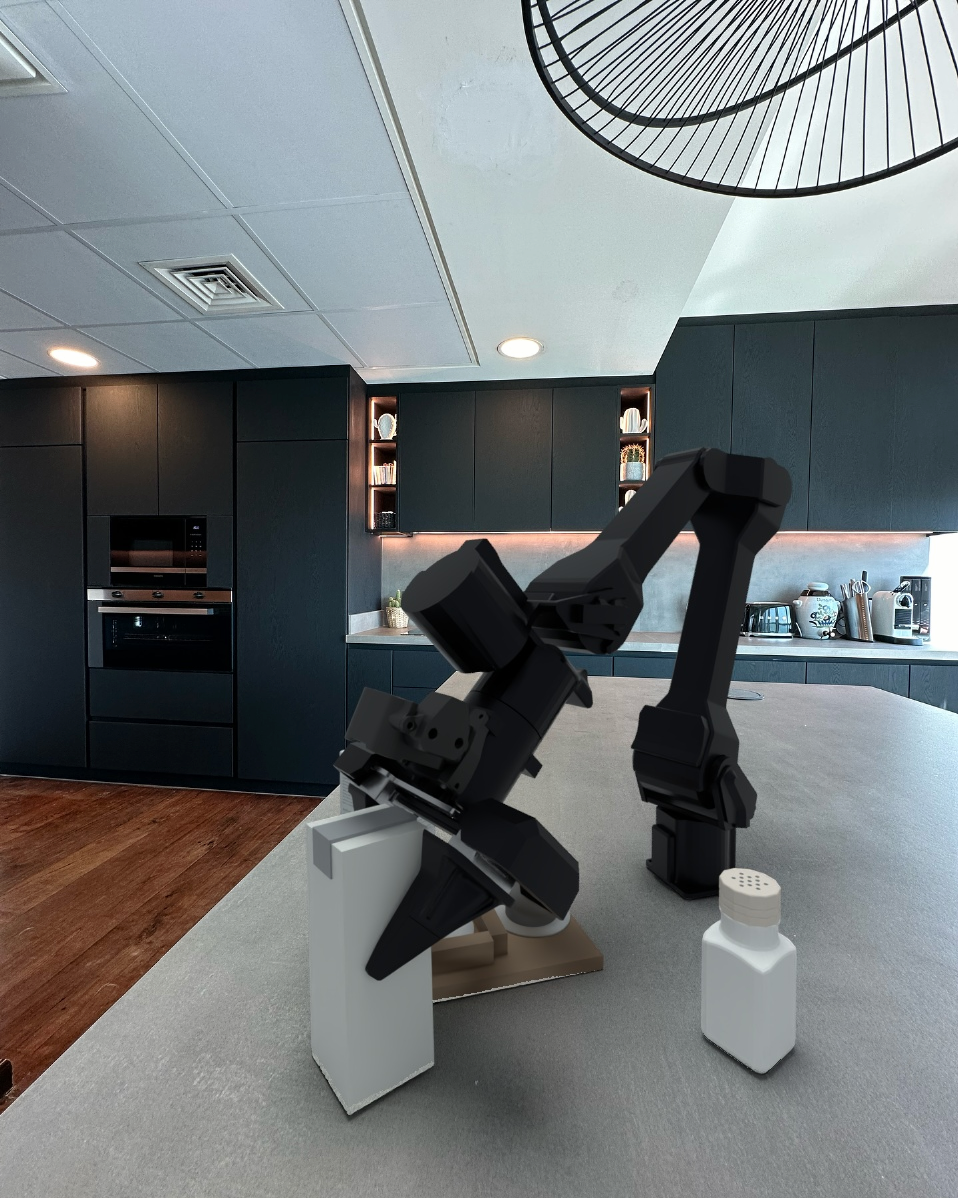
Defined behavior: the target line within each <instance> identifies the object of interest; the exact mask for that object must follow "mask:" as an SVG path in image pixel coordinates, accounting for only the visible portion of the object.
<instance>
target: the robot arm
mask: <svg viewBox="0 0 958 1198" xmlns="http://www.w3.org/2000/svg"><path fill="white" fill-rule="evenodd" d="M792 488H793V485H792V478H791V475H790V473H789V471H788V469H787V468H785V467H784V466H782V465H780V464H778V462H777V461H776V460H775V459H773V457H770V456H769V457H760V456H754V455H753V456H752V455H744V454H735V453H728V452H726V451H723V450H721V449H719V448H713V447H709V446H700V447H696V448H695V447H694V448H691V449H686V450H681V451H680V450H679V451H677V452H672V453H667V454H665V455H664V456H662V457H661V458H660V459H658V460H657V461H656V464H655V465H654V469H653V472H652V473H651V474H650V476H648V478H647V479H646V480H645V481H644V483H642V484H641V486H640V487H639V488H638V489H637V490H636V491H635V493H634V494H633V495H632V496H631V497H630V498H629V500H628V501H627V502H626V503H625V504H624V505H623V507H622V508H621V509H620V510H619V511H618V512H617V514H616V515H615V516H613V518H612V519H611V520H610V522H609V523H608V524H606V526H605V527H604V528H603V530H601V532H600V533H599V535H597V537H596V538H594V540H593V541H592V542H591V543H588V545H586V546H585V547H583V548H582V549H579V550H578V551H576V552H573V553H571V554H569V555H567V556H565V557H563V558H561V559H558V560H557V561H555V562H554V563H553V564H552V565H550V566H549V567H548V568H546V569H545V570H544V571H543V572H541V573H540V574H538V575H537V576H535V578H533V579H532V580H531V581H530V582H529V584H528V585H527V587H526V588H525V589H524V590H522V588H521V587H520V585H519V583H517V582H516V580H515V579H514V577H513V576H512V574H511V573H510V572H509V571H508V569H507V567H505V565H504V564H503V562H502V559H501V558H500V555H499V554H498V552H497V549H496V548H495V547H494V546H493V544H492V543H491V541H490V540H489V539H488V538H485V537H484V538H475V539H473V538H472V539H466V540H465V541H464V542H463V543H462V544H461V546H460V547H459V548H458V549H457V550H455V551H453V552H450V553H449V554H447V555H445V556H443V557H441V558H440V559H438V560H437V561H435V562H434V563H433V564H432V565H430V566H429V567H428V568H426V570H420V571H419V572H418V573H416V575H415V576H414V577H413V578H412V580H411V581H410V582H409V583H408V585H407V586H406V587H405V589H404V591H403V593H402V595H401V598H400V605H399V606H400V609H401V610H402V611H403V613H404V614H406V616H407V617H408V619H410V620H411V621H412V622H413V624H414V625H415V626H416V627H417V628H418V629H419V630H420V632H422V634H423V635H424V636H425V638H427V639H428V640H429V642H430V643H431V644H432V645H433V646H434V647H435V648H436V650H437V651H438V652H439V653H440V654H441V655H442V656H443V657H444V659H446V660H447V662H448V663H449V664H450V665H451V666H452V668H454V670H456V671H457V672H459V673H461V674H465V675H468V674H469V675H470V674H476V673H479V672H480V673H482V674H481V675H480V677H479V678H477V679H478V680H476V682H475V684H474V685H472V688H471V689H470V691H469V692H468V693H467V694H466V696H465V697H464V699H463V700H462V699H459V698H457V697H454V696H453V695H449V694H445V693H442V692H437V691H431V692H429V693H428V695H426V697H425V698H424V699H423V700H422V701H420V702H419V704H418V703H417V702H415V701H412V700H408V699H405V698H402V697H400V696H398V695H394V694H390V693H388V692H385V691H380V690H378V689H374V688H371V687H368V686H364V688H363V690H362V693H361V695H360V697H359V700H358V702H357V705H356V708H355V709H354V712H353V715H352V717H351V720H350V722H349V725H348V727H347V730H346V733H345V735H344V739H345V740H347V741H350V743H349V744H348V745H347V747H345V749H343V750H344V751H343V753H342V754H341V755H340V754H339V756H338V758H337V759H336V760H335V761H334V763H333V764H332V765H333V767H334V768H335V769H336V770H337V771H338V772H339V773H340V772H341V773H342V774H343V775H344V776H346V777H347V778H348V779H349V780H350V781H352V782H353V783H354V784H355V785H356V786H357V787H356V786H354V785H353V784H351V783H349V785H348V793H349V794H350V795H351V796H352V801H353V809H354V811H358V810H362V809H366V808H370V807H374V806H377V805H381V804H387V805H389V806H390V807H392V806H396V805H397V806H399V807H401V808H402V809H404V810H406V811H408V812H410V813H412V814H414V815H416V816H417V818H418V817H421V818H422V819H424V820H426V821H427V822H429V823H431V824H432V825H434V826H435V828H438V829H440V830H441V831H442V832H444V833H447V835H449V836H451V837H450V838H449V840H448V842H447V841H445V840H443V839H442V838H441V837H439V836H437V835H436V834H435V835H434V834H432V833H431V832H429V831H428V830H426V829H424V830H423V837H422V855H421V867H420V870H419V872H418V875H417V876H416V878H415V879H414V881H413V883H412V884H411V886H410V888H409V889H408V891H407V893H406V895H405V896H404V898H403V900H402V901H401V903H400V905H399V906H398V908H397V910H396V911H395V913H394V915H393V916H392V918H391V920H390V922H389V923H388V925H387V927H386V928H385V930H384V932H383V933H382V935H381V937H380V938H379V940H378V942H377V944H376V946H375V948H374V950H373V952H372V954H371V956H370V958H369V960H368V962H367V964H366V967H365V971H366V973H367V974H368V975H369V976H371V977H372V978H374V979H375V980H377V981H381V980H383V979H385V978H386V977H387V976H389V975H390V974H392V973H393V972H395V971H396V970H398V969H399V968H401V967H402V966H403V965H405V964H406V963H408V962H409V961H411V960H412V959H414V958H415V957H417V956H418V955H419V954H421V953H422V952H424V951H425V950H427V949H428V948H430V947H431V946H433V945H434V944H435V943H437V942H438V941H440V940H441V939H443V938H444V937H446V936H447V935H449V934H450V933H452V932H454V931H455V930H457V929H459V928H460V927H462V926H464V925H466V924H467V923H469V922H471V921H473V920H474V919H476V918H478V917H480V916H482V915H483V914H485V913H487V912H489V911H490V910H492V909H494V908H496V907H498V906H500V905H504V906H506V907H507V908H509V909H511V908H512V907H513V906H514V904H515V903H516V900H515V899H514V898H513V897H511V896H510V895H509V893H510V891H511V890H512V888H513V886H514V884H515V883H516V882H518V883H519V884H520V894H521V895H523V896H524V897H525V898H526V899H527V900H529V901H531V902H532V903H534V904H535V905H537V906H538V907H540V908H542V909H543V910H545V911H546V912H548V913H550V914H551V915H553V916H554V917H556V918H557V919H559V920H561V921H563V920H564V919H565V917H566V915H567V913H568V911H570V909H571V908H572V905H573V903H574V902H575V899H576V897H577V896H578V894H579V892H580V866H579V863H580V862H579V861H578V860H577V859H576V858H575V857H574V856H573V855H572V854H571V853H570V852H569V850H567V848H566V847H564V845H562V843H561V842H559V840H557V838H556V837H554V835H553V834H552V833H550V831H549V830H548V829H547V828H546V826H544V825H543V824H542V823H541V822H540V821H539V820H538V819H537V818H536V817H534V816H532V815H530V814H529V813H526V812H524V811H521V810H519V809H517V808H515V807H513V806H511V805H508V804H506V803H505V801H506V799H507V798H508V796H509V795H510V793H511V792H512V790H513V788H514V787H515V785H516V783H517V782H518V780H519V779H520V777H521V776H522V775H524V776H527V777H529V778H532V779H534V780H535V779H536V777H537V776H538V775H539V773H540V772H541V770H542V768H543V766H544V765H543V764H542V763H541V761H539V759H538V758H537V757H536V756H535V753H536V751H537V750H538V748H539V747H540V745H541V743H542V742H543V740H544V738H545V737H546V736H547V734H548V732H549V730H550V729H551V727H552V726H553V724H554V723H555V721H556V719H557V717H558V716H559V714H561V711H563V709H564V707H565V705H570V706H575V707H578V708H584V709H587V710H588V709H591V708H592V707H593V705H594V698H593V692H592V691H593V690H592V688H591V687H590V684H589V678H588V677H589V671H588V670H587V669H586V668H581V667H574V665H573V664H572V663H571V661H570V660H569V658H568V657H567V656H566V655H565V653H564V652H563V651H566V652H574V653H580V654H582V653H583V654H590V655H598V656H599V655H600V656H602V655H603V656H604V655H613V654H614V653H616V652H617V651H618V650H619V649H621V647H622V646H623V645H624V644H625V642H626V641H627V639H628V637H629V635H630V633H631V631H632V630H633V627H634V626H635V624H636V622H637V621H638V618H639V616H640V614H641V612H642V611H643V608H644V605H645V603H644V601H645V600H644V593H643V592H644V591H643V590H644V589H643V584H644V583H645V581H646V579H647V577H648V575H649V574H650V573H651V572H652V570H653V568H654V567H655V566H656V564H657V563H658V562H659V561H660V559H661V558H662V557H663V555H664V554H665V553H666V551H667V550H668V549H669V548H670V546H671V545H672V544H673V542H674V541H675V540H676V539H677V537H678V536H679V534H680V533H681V532H682V531H683V529H684V528H685V527H686V525H687V524H688V523H689V524H690V526H691V528H692V530H693V533H694V535H695V538H696V539H697V542H698V544H699V545H698V546H699V547H698V552H697V555H696V556H697V557H696V561H695V567H694V572H693V576H692V580H691V584H690V585H691V586H690V590H689V595H688V601H687V604H686V609H685V613H684V619H683V621H682V622H683V623H682V628H681V632H680V637H679V642H678V646H677V651H676V656H675V660H674V665H673V670H672V675H671V680H670V684H669V689H668V691H667V693H666V694H665V695H664V696H663V697H662V698H661V699H660V700H659V702H657V704H656V705H655V706H654V705H648V704H645V705H643V706H642V708H641V710H640V711H639V714H638V723H637V729H636V733H635V736H634V739H633V741H632V743H631V745H630V749H631V750H632V755H631V756H632V757H631V758H632V759H631V760H632V764H631V765H632V770H633V772H634V775H635V779H636V784H637V789H638V791H639V796H640V799H641V801H642V802H644V803H646V804H648V803H649V804H652V805H655V823H654V824H652V826H651V857H650V858H647V859H645V866H646V867H647V868H648V869H649V870H650V871H651V872H653V873H654V874H655V875H656V876H658V877H659V878H660V879H661V880H662V881H664V882H665V883H666V884H667V885H668V886H669V887H670V888H672V889H673V890H674V891H675V892H676V893H678V894H679V895H680V896H681V897H682V898H684V899H687V900H692V899H698V898H705V897H710V896H716V895H719V890H720V889H719V876H720V875H721V874H722V872H723V871H724V870H728V869H733V868H737V865H736V863H737V829H748V828H750V827H751V820H752V819H754V816H755V812H756V809H757V801H758V793H757V791H756V790H755V787H754V786H753V785H752V784H751V782H750V780H749V779H748V777H747V776H746V773H744V771H743V769H742V768H741V766H740V765H739V763H738V762H739V752H740V740H739V736H738V735H737V731H736V729H735V727H734V724H733V722H732V719H731V717H730V714H729V712H728V709H727V702H728V698H729V694H730V693H729V691H730V686H731V681H732V678H733V677H732V676H733V672H734V666H735V661H736V657H737V656H736V655H737V650H738V646H739V641H740V635H741V629H742V626H743V621H744V614H745V609H746V605H747V598H748V595H749V590H750V583H751V578H752V575H753V574H752V573H753V567H754V562H755V559H756V556H757V554H758V553H759V552H760V551H762V549H763V548H764V547H765V546H766V545H767V544H768V543H769V542H770V541H771V540H772V539H773V538H774V536H775V535H776V534H777V533H778V532H779V530H780V528H781V526H782V525H781V524H782V522H783V517H784V514H785V511H786V507H787V505H788V504H789V503H790V500H791V497H792V492H793V489H792Z"/></svg>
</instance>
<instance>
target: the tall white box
mask: <svg viewBox="0 0 958 1198" xmlns="http://www.w3.org/2000/svg"><path fill="white" fill-rule="evenodd" d="M424 829H426V830H428V827H427V826H425V825H423V824H422V823H420V822H418V821H417V816H416V815H414V814H412V813H410V812H408V811H406V810H404V809H402V808H401V807H399V806H397V805H396V806H392V807H390V806H389V805H387V804H381V805H377V806H374V807H370V808H366V809H362V810H358V811H354V812H350V813H346V814H342V815H340V814H339V815H335V816H331V817H327V818H323V819H319V820H314V821H311V822H307V823H305V843H306V846H305V848H306V852H305V853H306V883H307V885H306V888H307V891H306V892H307V893H306V894H307V921H308V922H307V927H308V928H307V929H308V962H309V963H308V965H309V967H308V969H309V1005H310V1006H309V1007H310V1008H309V1009H310V1011H309V1012H310V1043H311V1044H310V1047H311V1048H312V1049H313V1051H314V1053H315V1054H316V1055H317V1057H318V1059H319V1060H320V1061H321V1063H322V1064H323V1066H324V1067H325V1069H326V1071H327V1072H328V1074H329V1075H330V1077H331V1079H332V1080H333V1083H334V1085H335V1086H336V1088H337V1089H338V1091H339V1093H340V1094H341V1096H342V1097H343V1100H344V1102H345V1104H346V1105H347V1106H348V1107H351V1106H352V1105H353V1104H357V1103H358V1102H359V1101H360V1102H361V1101H363V1099H364V1098H368V1097H369V1096H370V1095H373V1094H374V1093H378V1092H379V1091H382V1090H383V1091H385V1090H386V1089H389V1088H390V1087H391V1088H392V1087H393V1086H394V1085H397V1084H398V1083H399V1082H400V1081H403V1080H404V1079H405V1078H406V1077H409V1075H410V1074H412V1073H414V1072H415V1071H418V1070H419V1068H421V1067H423V1066H425V1065H427V1064H428V1063H431V1061H432V1062H434V1063H435V1045H434V1044H435V1042H434V1039H435V1037H434V1010H433V1008H434V1006H433V1005H434V1004H433V1001H432V965H431V947H430V948H428V949H427V950H425V951H424V952H422V953H421V954H419V955H418V956H417V957H415V958H414V959H412V960H411V961H409V962H408V963H406V964H405V965H403V966H402V967H401V968H399V969H398V970H396V971H395V972H393V973H392V974H390V975H389V976H387V977H386V978H385V979H383V980H381V981H377V980H375V979H374V978H372V977H371V976H369V975H368V974H367V973H366V971H365V967H366V964H367V962H368V960H369V958H370V956H371V954H372V952H373V950H374V948H375V946H376V944H377V942H378V940H379V938H380V937H381V935H382V933H383V932H384V930H385V928H386V927H387V925H388V923H389V922H390V920H391V918H392V916H393V915H394V913H395V911H396V910H397V908H398V906H399V905H400V903H401V901H402V900H403V898H404V896H405V895H406V893H407V891H408V889H409V888H410V886H411V884H412V883H413V881H414V879H415V878H416V876H417V875H418V872H419V870H420V867H421V855H422V837H423V830H424ZM311 1048H310V1049H311Z"/></svg>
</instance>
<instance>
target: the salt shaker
mask: <svg viewBox="0 0 958 1198" xmlns="http://www.w3.org/2000/svg"><path fill="white" fill-rule="evenodd" d="M719 889H720V890H719V894H718V896H719V897H718V909H719V912H720V919H719V920H717V921H715V923H713V924H711V926H709V927H708V928H707V929H706V930H705V931H704V932H703V935H702V940H701V979H700V980H701V981H700V982H701V985H700V986H701V987H700V988H701V990H700V994H701V995H700V997H701V998H700V1029H701V1031H702V1032H701V1033H702V1034H703V1033H704V1034H703V1036H704V1035H705V1036H706V1037H707V1038H708V1039H710V1040H711V1041H713V1042H714V1043H717V1044H718V1045H720V1046H721V1047H723V1048H724V1049H725V1050H727V1051H728V1052H730V1053H731V1054H732V1055H735V1056H736V1057H737V1058H739V1059H740V1060H741V1061H743V1062H744V1063H747V1064H748V1065H749V1066H751V1067H752V1068H753V1069H756V1070H759V1071H761V1072H763V1071H768V1070H769V1069H771V1068H772V1067H773V1066H774V1065H775V1064H776V1063H777V1062H778V1061H779V1060H780V1059H781V1060H782V1059H783V1058H784V1057H785V1056H787V1055H788V1053H789V1052H791V1051H792V1049H793V1048H794V1047H795V1045H796V1036H797V1035H796V1033H797V1032H796V1031H797V1030H796V1023H797V1015H796V1014H797V964H798V963H797V962H798V961H797V960H798V959H797V956H798V953H797V951H798V950H797V947H796V946H795V945H794V944H793V942H792V941H791V940H790V939H789V938H788V937H787V936H785V935H783V934H782V933H781V932H779V931H780V930H779V928H780V927H779V925H780V924H781V918H782V917H781V916H782V910H781V909H782V902H781V901H782V887H781V886H780V885H779V883H778V881H777V880H776V879H774V878H773V877H771V876H769V875H768V874H765V873H764V872H761V871H757V870H754V869H750V868H737V867H736V868H733V869H728V870H724V871H723V872H722V874H721V875H720V876H719ZM705 1036H704V1037H705ZM706 1037H705V1038H706ZM707 1038H706V1039H707ZM708 1039H707V1040H708ZM711 1041H710V1042H711ZM781 1060H780V1061H781ZM780 1061H779V1062H780ZM779 1062H778V1063H779ZM778 1063H777V1064H778ZM777 1064H776V1065H777ZM776 1065H775V1066H776ZM775 1066H774V1067H775ZM774 1067H773V1068H774ZM773 1068H772V1069H773ZM772 1069H771V1070H772Z"/></svg>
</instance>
